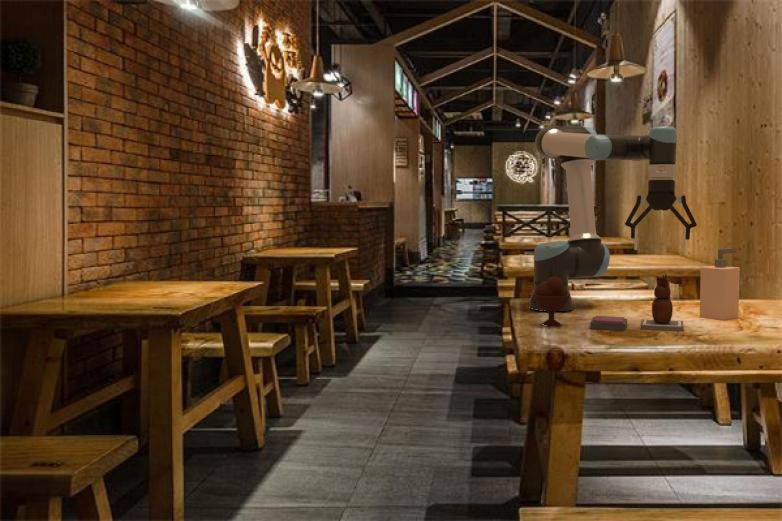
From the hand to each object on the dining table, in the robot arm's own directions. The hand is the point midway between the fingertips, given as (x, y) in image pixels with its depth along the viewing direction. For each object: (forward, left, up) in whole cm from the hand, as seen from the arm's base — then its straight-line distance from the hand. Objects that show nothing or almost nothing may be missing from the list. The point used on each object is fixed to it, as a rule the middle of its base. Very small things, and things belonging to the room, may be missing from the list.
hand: (659, 250), depth 230 cm
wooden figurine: (+1, -2, -22) cm, 22 cm away
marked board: (+1, -2, -23) cm, 23 cm away
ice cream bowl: (-31, -8, -23) cm, 39 cm away
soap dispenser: (+19, +24, -23) cm, 38 cm away
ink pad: (-14, -7, -23) cm, 28 cm away
